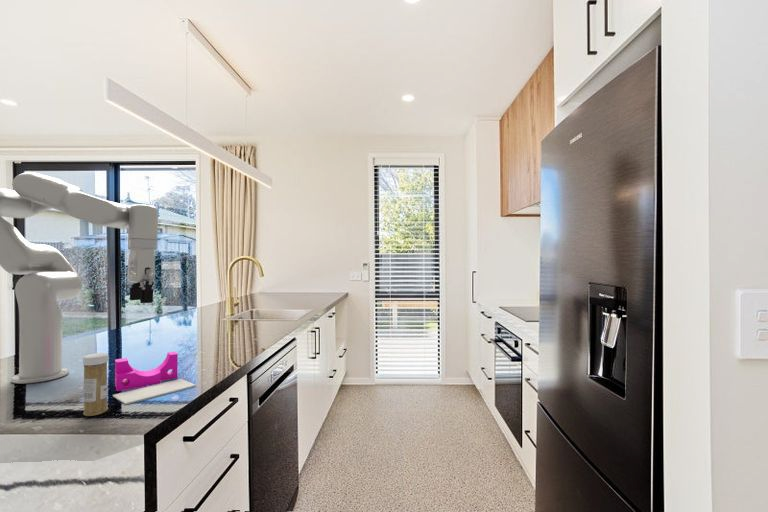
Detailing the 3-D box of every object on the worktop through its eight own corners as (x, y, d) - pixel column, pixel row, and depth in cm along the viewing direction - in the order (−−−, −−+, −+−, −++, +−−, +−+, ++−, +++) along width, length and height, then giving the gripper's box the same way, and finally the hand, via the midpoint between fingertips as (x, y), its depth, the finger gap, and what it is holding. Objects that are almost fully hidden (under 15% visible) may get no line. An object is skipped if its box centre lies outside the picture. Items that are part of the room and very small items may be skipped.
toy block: (116, 392, 101) (116, 364, 101) (114, 386, 106) (115, 359, 106) (179, 381, 110) (179, 355, 110) (175, 375, 115) (175, 351, 115)
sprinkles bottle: (111, 411, 88) (112, 353, 88) (88, 418, 84) (89, 358, 84) (101, 407, 90) (101, 351, 90) (78, 414, 86) (79, 355, 86)
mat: (112, 396, 97) (112, 394, 97) (181, 379, 111) (181, 378, 111) (125, 404, 92) (125, 403, 92) (195, 386, 105) (195, 384, 105)
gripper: (119, 245, 117) (118, 299, 117) (137, 244, 106) (136, 305, 106) (146, 246, 123) (145, 298, 123) (166, 245, 112) (165, 303, 112)
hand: (141, 301), depth 114 cm, fingers open, 9 cm apart
